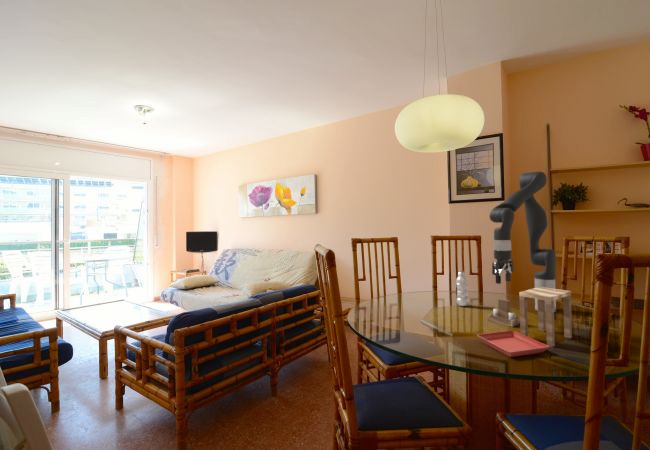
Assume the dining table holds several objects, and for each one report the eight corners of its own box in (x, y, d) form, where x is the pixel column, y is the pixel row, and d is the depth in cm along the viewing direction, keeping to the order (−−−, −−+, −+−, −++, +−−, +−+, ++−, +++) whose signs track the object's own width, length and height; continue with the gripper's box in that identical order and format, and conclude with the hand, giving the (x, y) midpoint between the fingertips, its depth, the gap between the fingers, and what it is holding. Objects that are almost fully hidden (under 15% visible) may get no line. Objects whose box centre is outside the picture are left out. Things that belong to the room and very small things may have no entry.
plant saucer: (550, 354, 120) (550, 345, 120) (509, 360, 116) (509, 351, 116) (512, 337, 137) (512, 330, 137) (476, 342, 134) (475, 334, 133)
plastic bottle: (470, 307, 183) (469, 272, 183) (457, 307, 184) (456, 272, 184) (467, 304, 189) (466, 270, 189) (455, 304, 191) (454, 270, 190)
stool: (540, 329, 144) (539, 286, 144) (571, 337, 134) (570, 291, 134) (520, 337, 136) (519, 292, 135) (552, 347, 125) (551, 297, 125)
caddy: (497, 317, 163) (496, 296, 163) (521, 323, 153) (521, 301, 153) (487, 320, 159) (487, 298, 159) (512, 327, 149) (511, 303, 149)
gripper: (503, 247, 162) (503, 279, 163) (486, 249, 155) (487, 283, 155) (518, 248, 156) (519, 281, 156) (501, 250, 149) (502, 285, 149)
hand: (503, 282), depth 156 cm, fingers open, 8 cm apart
